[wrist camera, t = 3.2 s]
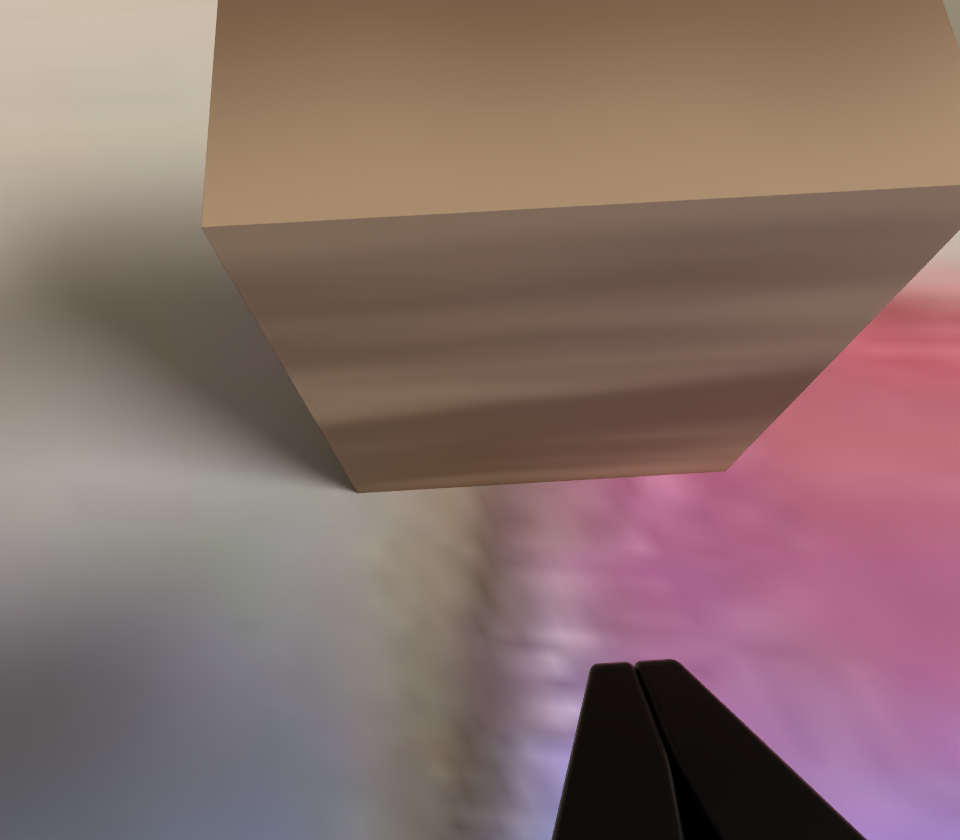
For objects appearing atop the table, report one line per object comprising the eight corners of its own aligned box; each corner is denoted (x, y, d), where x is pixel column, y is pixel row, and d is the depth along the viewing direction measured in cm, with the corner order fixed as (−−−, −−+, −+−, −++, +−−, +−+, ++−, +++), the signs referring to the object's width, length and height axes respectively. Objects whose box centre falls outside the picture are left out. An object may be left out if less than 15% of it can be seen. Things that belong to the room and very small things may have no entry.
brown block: (725, 471, 17) (1006, 181, 8) (357, 493, 17) (201, 227, 8) (701, 335, 18) (921, -59, 9) (357, 355, 18) (219, -21, 9)
